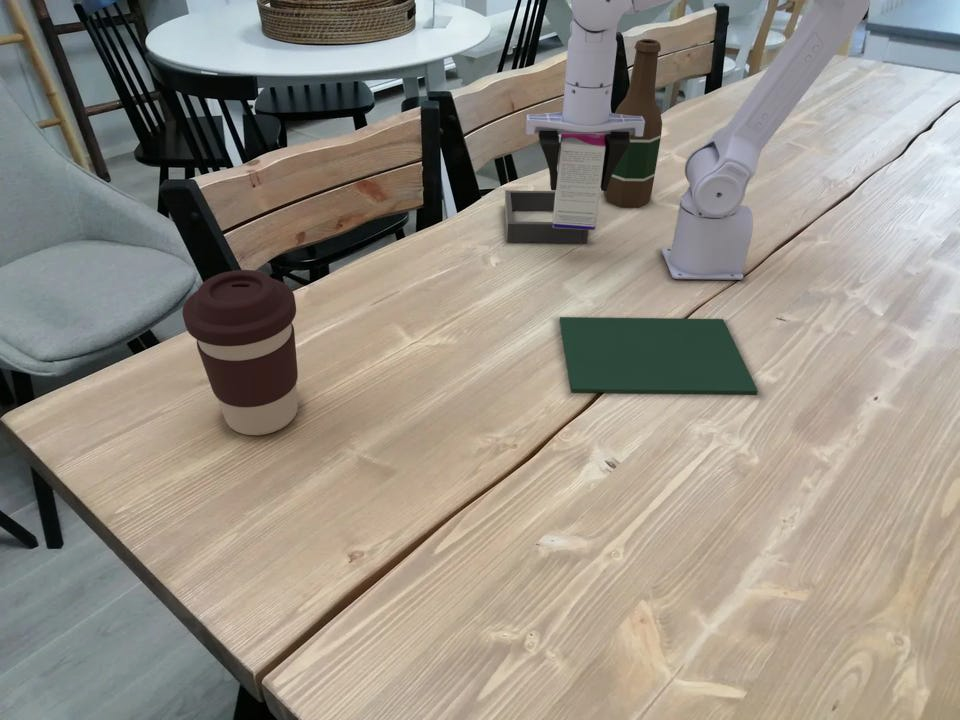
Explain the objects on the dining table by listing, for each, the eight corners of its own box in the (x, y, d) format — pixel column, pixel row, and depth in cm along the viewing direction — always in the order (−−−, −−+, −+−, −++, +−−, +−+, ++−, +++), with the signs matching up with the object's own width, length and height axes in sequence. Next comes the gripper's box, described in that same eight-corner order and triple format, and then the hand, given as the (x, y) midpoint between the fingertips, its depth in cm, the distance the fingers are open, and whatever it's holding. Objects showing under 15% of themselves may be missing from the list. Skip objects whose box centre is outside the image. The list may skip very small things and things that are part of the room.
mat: (722, 322, 91) (723, 318, 90) (757, 394, 79) (758, 390, 79) (559, 320, 90) (559, 316, 90) (571, 392, 79) (571, 388, 79)
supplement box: (596, 231, 98) (605, 146, 91) (551, 228, 98) (557, 144, 92) (596, 212, 102) (605, 130, 96) (553, 209, 103) (559, 128, 96)
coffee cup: (262, 460, 70) (233, 330, 61) (190, 423, 74) (153, 295, 65) (332, 404, 77) (314, 279, 68) (262, 372, 81) (238, 250, 72)
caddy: (578, 209, 116) (580, 191, 114) (587, 243, 107) (589, 224, 105) (504, 208, 116) (505, 190, 114) (506, 242, 107) (507, 223, 105)
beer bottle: (596, 203, 118) (615, 44, 103) (608, 185, 123) (627, 32, 109) (645, 212, 115) (671, 50, 101) (654, 193, 121) (680, 38, 107)
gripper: (643, 72, 92) (629, 176, 100) (527, 71, 92) (522, 174, 100) (653, 89, 87) (637, 198, 95) (529, 88, 86) (524, 196, 95)
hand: (578, 187), depth 97 cm, fingers closed on supplement box, 6 cm apart
